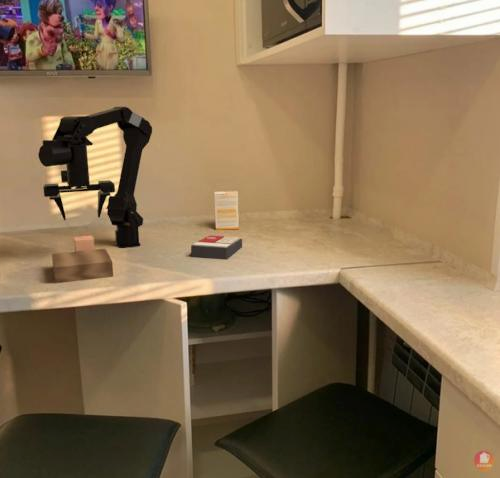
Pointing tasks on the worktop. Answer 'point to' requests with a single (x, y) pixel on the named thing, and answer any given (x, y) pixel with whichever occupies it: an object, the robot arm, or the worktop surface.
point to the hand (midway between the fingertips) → (82, 218)
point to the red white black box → (216, 247)
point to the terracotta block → (84, 243)
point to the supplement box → (226, 210)
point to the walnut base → (82, 265)
